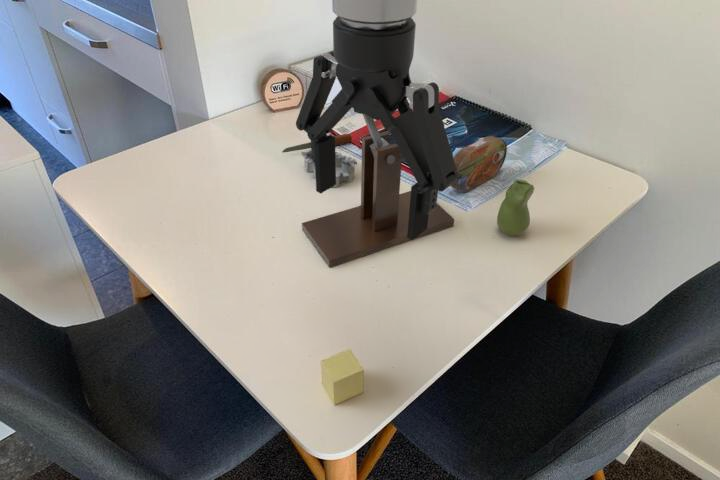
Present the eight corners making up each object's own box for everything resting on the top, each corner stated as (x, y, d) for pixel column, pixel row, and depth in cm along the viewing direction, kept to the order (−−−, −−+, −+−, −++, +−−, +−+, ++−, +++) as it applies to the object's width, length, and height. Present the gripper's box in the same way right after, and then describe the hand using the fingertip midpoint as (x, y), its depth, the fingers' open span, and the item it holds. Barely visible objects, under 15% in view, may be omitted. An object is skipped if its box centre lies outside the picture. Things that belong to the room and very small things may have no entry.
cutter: (365, 106, 70) (380, 97, 70) (336, 82, 76) (349, 74, 76) (392, 175, 79) (405, 167, 79) (364, 149, 85) (376, 141, 85)
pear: (503, 218, 93) (514, 170, 87) (531, 229, 91) (545, 180, 84) (489, 233, 90) (499, 184, 83) (518, 245, 87) (530, 196, 81)
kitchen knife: (349, 140, 115) (349, 132, 114) (352, 143, 114) (352, 134, 113) (281, 154, 110) (280, 145, 109) (283, 157, 109) (282, 148, 108)
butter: (334, 405, 63) (333, 382, 60) (321, 383, 65) (320, 360, 63) (363, 392, 64) (363, 369, 62) (350, 371, 67) (349, 348, 64)
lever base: (329, 267, 82) (326, 176, 72) (302, 229, 90) (295, 142, 79) (453, 226, 91) (467, 139, 81) (419, 194, 99) (427, 111, 88)
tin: (455, 199, 98) (461, 159, 93) (442, 191, 100) (447, 152, 94) (504, 171, 106) (512, 134, 100) (491, 165, 107) (498, 128, 102)
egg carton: (359, 180, 103) (360, 162, 100) (326, 191, 99) (326, 173, 97) (331, 157, 109) (331, 139, 107) (299, 166, 106) (298, 149, 104)
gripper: (520, 36, 43) (480, 238, 56) (305, -15, 55) (314, 160, 69) (473, 61, 38) (441, 273, 52) (251, -1, 51) (271, 183, 64)
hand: (369, 209), depth 60 cm, fingers open, 13 cm apart
